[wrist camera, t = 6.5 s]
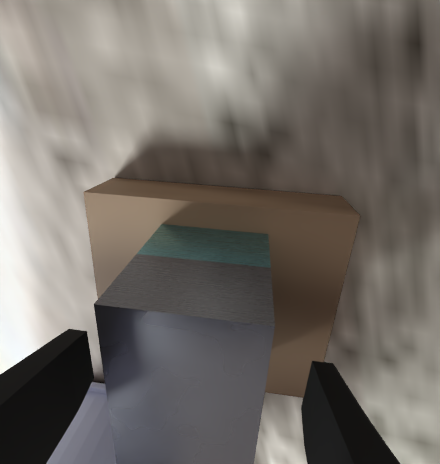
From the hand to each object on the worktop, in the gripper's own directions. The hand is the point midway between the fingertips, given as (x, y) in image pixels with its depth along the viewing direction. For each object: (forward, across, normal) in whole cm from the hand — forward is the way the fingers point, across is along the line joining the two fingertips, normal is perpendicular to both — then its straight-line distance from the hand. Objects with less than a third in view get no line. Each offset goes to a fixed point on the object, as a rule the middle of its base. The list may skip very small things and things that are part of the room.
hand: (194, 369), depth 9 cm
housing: (+3, 0, -1) cm, 3 cm away
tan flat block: (+6, 0, 0) cm, 6 cm away
